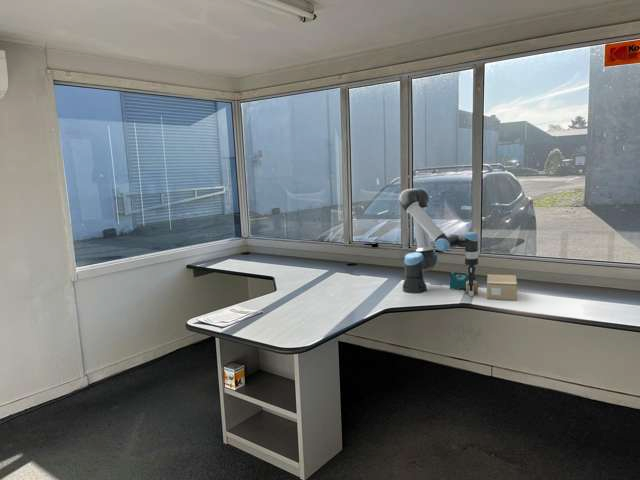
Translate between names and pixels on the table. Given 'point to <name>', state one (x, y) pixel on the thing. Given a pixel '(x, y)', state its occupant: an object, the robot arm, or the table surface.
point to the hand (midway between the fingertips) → (471, 293)
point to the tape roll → (474, 287)
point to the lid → (502, 279)
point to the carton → (502, 292)
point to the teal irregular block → (458, 281)
